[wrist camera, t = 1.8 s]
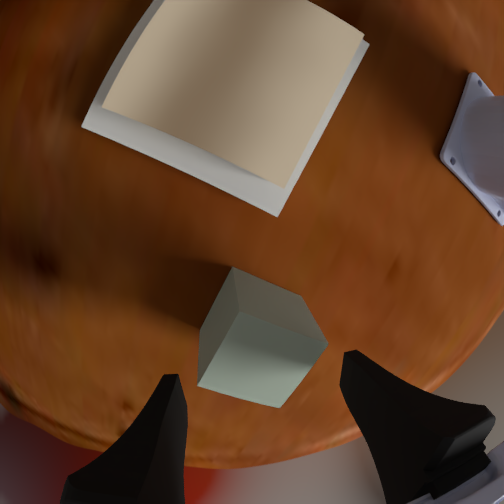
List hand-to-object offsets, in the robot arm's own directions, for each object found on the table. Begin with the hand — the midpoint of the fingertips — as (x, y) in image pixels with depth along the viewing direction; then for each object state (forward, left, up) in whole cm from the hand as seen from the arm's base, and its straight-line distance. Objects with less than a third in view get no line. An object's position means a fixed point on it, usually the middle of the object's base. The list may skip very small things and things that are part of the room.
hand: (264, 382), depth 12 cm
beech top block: (+7, -11, -4) cm, 13 cm away
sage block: (0, 0, -6) cm, 6 cm away
